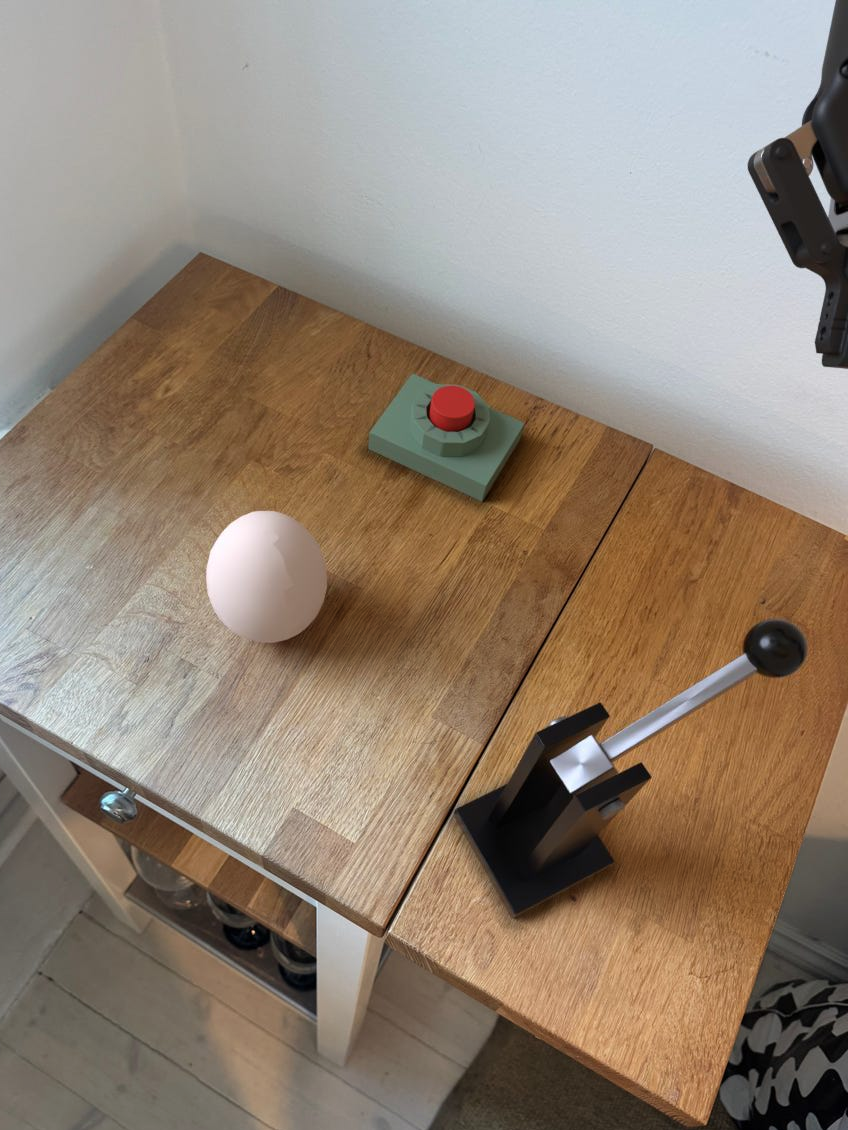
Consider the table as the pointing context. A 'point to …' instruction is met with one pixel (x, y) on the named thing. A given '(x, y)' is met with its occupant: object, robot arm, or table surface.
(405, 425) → the button box
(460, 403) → the button
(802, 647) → the lever
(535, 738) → the bracket
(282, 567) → the egg
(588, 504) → the table surface
